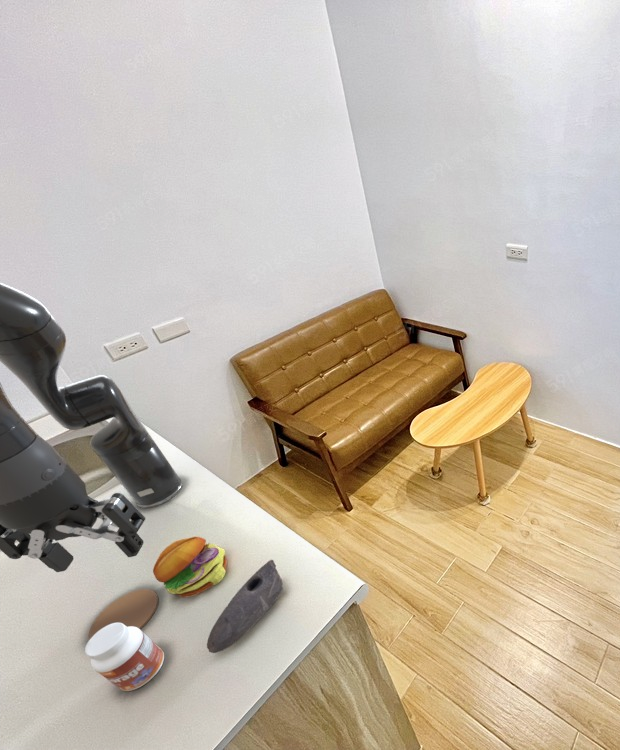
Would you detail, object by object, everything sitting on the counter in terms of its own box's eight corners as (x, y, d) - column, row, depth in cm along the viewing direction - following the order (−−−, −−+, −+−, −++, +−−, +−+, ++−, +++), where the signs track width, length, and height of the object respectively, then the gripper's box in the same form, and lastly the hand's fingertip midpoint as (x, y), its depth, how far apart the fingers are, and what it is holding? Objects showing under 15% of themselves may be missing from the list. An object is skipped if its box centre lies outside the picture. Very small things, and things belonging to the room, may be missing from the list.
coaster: (86, 619, 72) (85, 618, 72) (152, 579, 78) (151, 578, 78) (93, 661, 66) (92, 660, 66) (164, 614, 72) (163, 613, 72)
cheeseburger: (203, 606, 73) (167, 577, 68) (165, 603, 76) (128, 574, 71) (243, 556, 81) (212, 527, 76) (207, 555, 84) (176, 527, 79)
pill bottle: (113, 700, 61) (69, 670, 55) (126, 659, 66) (86, 628, 60) (160, 680, 63) (123, 649, 57) (169, 642, 68) (135, 610, 62)
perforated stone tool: (226, 666, 65) (208, 647, 61) (206, 652, 67) (187, 632, 63) (297, 584, 76) (286, 563, 73) (278, 573, 78) (266, 553, 74)
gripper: (109, 446, 50) (171, 525, 59) (-25, 467, 47) (61, 546, 56) (70, 490, 44) (145, 571, 53) (-86, 518, 41) (20, 597, 50)
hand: (102, 558), depth 54 cm, fingers open, 8 cm apart
